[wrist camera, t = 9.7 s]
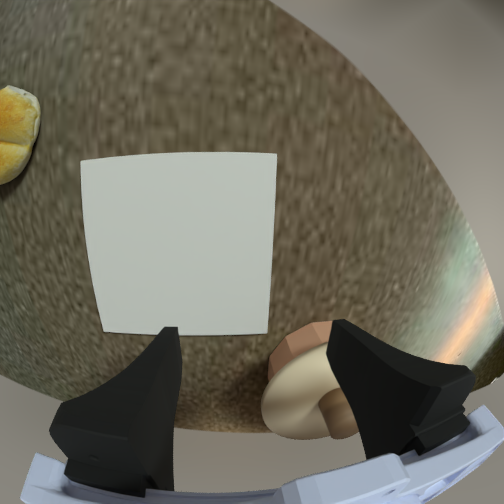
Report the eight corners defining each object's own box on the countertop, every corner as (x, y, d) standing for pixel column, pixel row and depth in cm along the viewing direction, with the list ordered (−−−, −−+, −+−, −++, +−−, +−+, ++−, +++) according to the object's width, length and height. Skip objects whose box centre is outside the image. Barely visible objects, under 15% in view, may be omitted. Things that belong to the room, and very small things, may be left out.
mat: (266, 330, 24) (267, 333, 24) (105, 328, 22) (103, 331, 22) (275, 154, 20) (276, 153, 19) (83, 160, 18) (80, 161, 17)
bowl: (348, 386, 29) (364, 416, 24) (265, 398, 27) (273, 433, 23) (369, 316, 25) (394, 344, 21) (271, 325, 24) (283, 360, 20)
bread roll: (-22, 165, 16) (-47, 169, 12) (10, 82, 14) (-14, 76, 10) (20, 199, 18) (-7, 208, 14) (58, 106, 16) (32, 99, 12)
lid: (376, 416, 24) (391, 443, 20) (261, 442, 23) (267, 475, 19) (410, 322, 20) (438, 350, 16) (259, 349, 19) (269, 392, 15)
